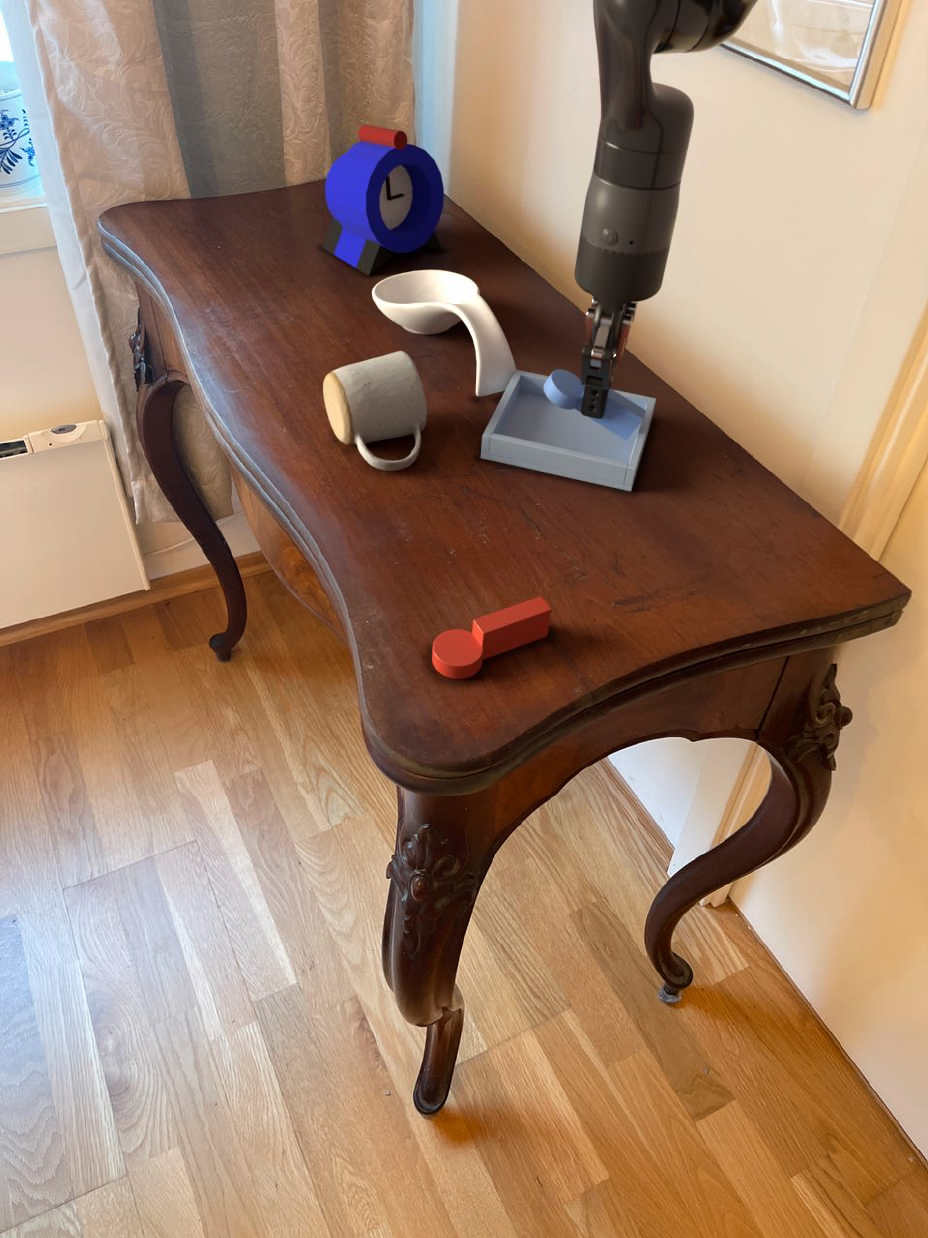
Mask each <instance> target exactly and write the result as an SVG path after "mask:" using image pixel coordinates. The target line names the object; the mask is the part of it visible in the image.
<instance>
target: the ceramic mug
mask: <svg viewBox="0 0 928 1238" xmlns="http://www.w3.org/2000/svg"><path fill="white" fill-rule="evenodd" d="M322 383H323V384H322V394H323V401H324V406H325V410H326V414H327V418H328V421H329V424H330V426H331V429H332V431H333V433H334V435H335V436H336V438H337V439H338V440H339V441H340V442H341V443H343V444H344V445H347V446H352V445H353V446H357V449H358V452H359V454H360V455H361V456H362V458H363V459H364V460H365V461H366V462H367V463H368V464H369V465H370V466H372V467H373V468H375V469H378V470H381V471H386V472H395V471H400V470H405V469H406V468H408V467H409V466H411V465H413V463H414V462H415V461H416V459H417V457H418V455H419V452H420V449H421V443H422V436H421V435H422V434H421V433H422V432H423V431H424V429H425V427H426V422H427V413H428V412H427V411H428V410H427V402H426V396H425V391H424V386H423V382H422V380H421V377H420V375H419V371H418V369H417V367H416V365H415V363H414V361H413V359H412V358H411V357H410V355H409V354H408V353H406V352H405V351H403V350H400V351H399V350H398V351H395V352H391V353H388V354H384V355H381V356H376V357H373V358H370V359H366V360H364V361H363V360H362V361H359V362H356V363H355V362H354V363H351V364H347V365H343V366H341V367H338V368H336V369H334V370H332V371H330V372H329V373H327V374H326V375H325V377H324V380H323V382H322ZM410 435H413V437H414V445H415V446H414V447H413V449H412V450H411V451H410V454H409V455H407V456H406V458H402V459H400V460H391V459H389V460H388V459H383V458H381V457H378V456H376V455H375V454H373V453H372V452H371V451H370V450H369V448H368V447H367V445H366V444H369V443H374V442H378V441H384V440H391V439H396V438H401V437H405V436H410Z"/></svg>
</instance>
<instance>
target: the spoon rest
mask: <svg viewBox="0 0 928 1238" xmlns="http://www.w3.org/2000/svg"><path fill="white" fill-rule="evenodd" d="M480 294H481V290H480V288H479V286H478V284H477V282H475V281H474V280H472V279H471V278H470V277H467V276H466V275H463V274H461V273H456V272H453V271H448V270H443V269H421V270H412V271H407V272H402V273H398V274H394V275H391V276H389V277H385V278H384V279H381V281H378V283H376V284H375V285H374V287H373V288H372V291H371V295H372V300H373V301H374V303H375V305H376V306H377V308H378V309H379V310H380V312H381V313H382V314H383V315H385V317H386V318H388V319H389V320H391V321H392V322H394V324H397V325H398V326H401V327H402V328H403V329H404V330H406V331H408V332H410V333H413V334H416V335H435V334H437V335H438V334H440V333H443V332H446V331H448V330H449V329H450V328H452V327H454V326H455V325H457V324H458V323H459V322H461V321H462V322H463V323H464V324H465V326H466V328H467V329H468V331H469V333H470V335H471V338H472V340H473V344H474V350H475V358H476V377H475V378H476V379H475V381H476V382H475V395H476V396H477V397H485V396H489V395H492V394H497V393H502V392H505V390H506V388H507V386H508V384H509V382H510V380H511V379H512V377H513V375H514V373H515V371H516V370H517V369H516V368H517V367H516V364H515V360H514V357H513V353H512V351H511V348H510V344H509V343H508V341H507V338H506V336H505V333H504V331H503V329H502V327H501V325H500V323H499V321H498V318H497V317H496V316H495V314H494V311H492V309H491V307H490V305H489V304H488V303H487V302H486V301H485V299H484V298H483V297H482V296H481V295H480Z"/></svg>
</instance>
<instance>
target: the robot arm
mask: <svg viewBox="0 0 928 1238" xmlns="http://www.w3.org/2000/svg"><path fill="white" fill-rule="evenodd" d="M758 1H759V0H592V14H593V15H592V18H593V27H594V35H595V36H594V37H595V43H596V54H597V65H598V78H599V80H598V82H599V93H600V94H599V97H600V98H599V99H600V121H599V125H598V133H597V140H596V147H595V153H594V159H593V166H592V171H591V176H590V180H589V183H588V187H587V190H586V194H585V200H584V205H583V211H582V218H581V226H580V233H579V240H578V244H577V245H578V246H577V252H576V260H575V266H574V272H573V273H574V275H573V276H574V280H575V282H576V284H577V285H578V287H579V288H580V289H581V290H583V292H585V293H587V294H589V295H591V296H592V300H591V306H588V308H587V311H586V314H585V315H586V316H585V321H584V328H585V330H586V333H585V339H584V345H583V347H582V348H581V355H582V356H581V376H580V380H581V385H585V389H584V394H583V400H582V406H581V414H582V415H584V416H587V417H592V418H596V419H601V418H602V417H603V416H604V413H605V408H606V402H607V397H608V393H609V389H610V388H611V389H612V386H613V383H614V375H615V372H616V370H617V368H619V366H620V363H621V360H622V358H623V354H624V350H625V349H626V348H627V344H628V340H629V337H630V336H629V335H630V332H631V329H632V323H634V320H635V317H636V314H637V310H638V305H639V302H644V301H646V300H649V299H651V298H653V297H654V296H656V295H657V294H658V293H659V291H660V290H661V288H662V285H663V282H664V281H663V280H664V277H665V273H666V268H667V263H668V259H669V253H670V250H671V244H672V240H673V235H674V232H675V231H674V230H675V226H676V222H677V216H678V212H679V205H680V195H681V193H680V192H681V185H682V179H683V174H684V170H685V165H686V160H687V155H688V151H689V148H690V147H689V146H690V141H691V136H692V133H693V128H694V121H695V106H694V103H693V101H692V99H691V97H690V96H689V95H688V94H687V93H686V92H684V91H682V90H681V89H679V88H676V87H674V86H671V85H668V84H663V83H659V82H655V81H653V79H652V73H651V72H652V71H651V61H652V58H653V56H654V55H671V54H692V53H701V52H705V51H709V50H711V49H713V48H716V47H718V46H719V45H721V44H723V43H725V42H727V41H728V40H729V39H731V38H733V36H734V35H735V34H736V33H738V31H739V30H740V29H741V27H742V26H743V25H744V23H745V22H746V20H747V19H748V17H749V15H750V13H751V12H752V11H753V9H754V7H755V6H756V5H757V3H758Z"/></svg>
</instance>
